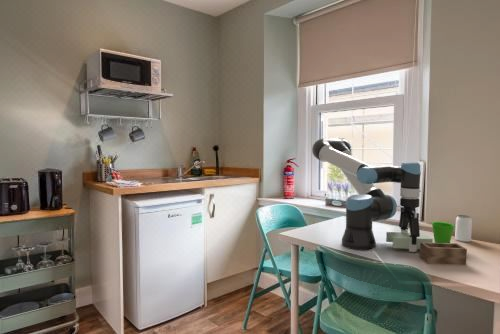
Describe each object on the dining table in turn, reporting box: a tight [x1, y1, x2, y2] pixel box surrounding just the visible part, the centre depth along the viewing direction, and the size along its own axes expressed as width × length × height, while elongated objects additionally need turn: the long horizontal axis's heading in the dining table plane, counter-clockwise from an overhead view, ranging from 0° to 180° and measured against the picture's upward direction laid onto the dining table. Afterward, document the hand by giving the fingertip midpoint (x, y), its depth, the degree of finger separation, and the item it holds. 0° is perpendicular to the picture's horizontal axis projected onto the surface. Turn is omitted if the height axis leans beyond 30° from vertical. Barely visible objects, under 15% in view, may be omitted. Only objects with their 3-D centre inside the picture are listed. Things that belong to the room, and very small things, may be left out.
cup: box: [431, 221, 456, 243], centre depth 140 cm, size 9×9×11 cm
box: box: [419, 242, 468, 266], centre depth 122 cm, size 14×7×7 cm, turn 83°
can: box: [454, 214, 473, 243], centre depth 151 cm, size 6×6×12 cm
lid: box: [385, 231, 434, 250], centre depth 136 cm, size 16×9×4 cm, turn 83°
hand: (408, 247), depth 136 cm, fingers closed on lid, 9 cm apart
